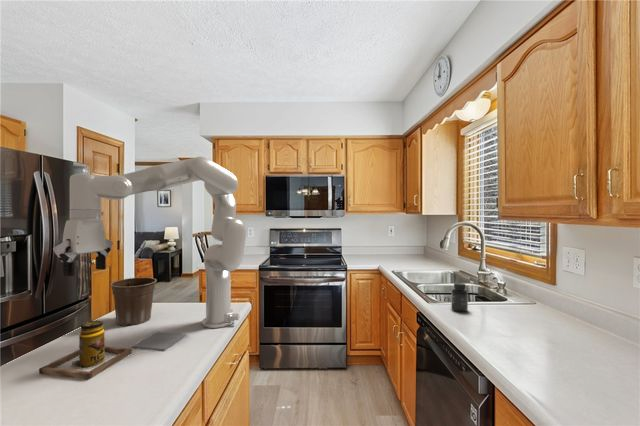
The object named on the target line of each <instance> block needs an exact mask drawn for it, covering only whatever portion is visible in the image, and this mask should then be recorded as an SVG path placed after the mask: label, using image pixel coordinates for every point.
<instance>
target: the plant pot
mask: <svg viewBox="0 0 640 426" xmlns="http://www.w3.org/2000/svg"><path fill="white" fill-rule="evenodd" d="M156 283H157V278H154V277H130V278H123V279H119V280H116V281H112V282H111V283H110V287H111V290H112V295H113V300H114V311H115V313H114V314H115V322H116V324H117V325H118V326H125V327H126V326H128V325H131V326H136V325H140V323H141V324H143V323H146V322H148V321H150V319H151V318H152V308H153V299H154V292H155V289H156V288H155V287H156Z"/></svg>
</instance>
